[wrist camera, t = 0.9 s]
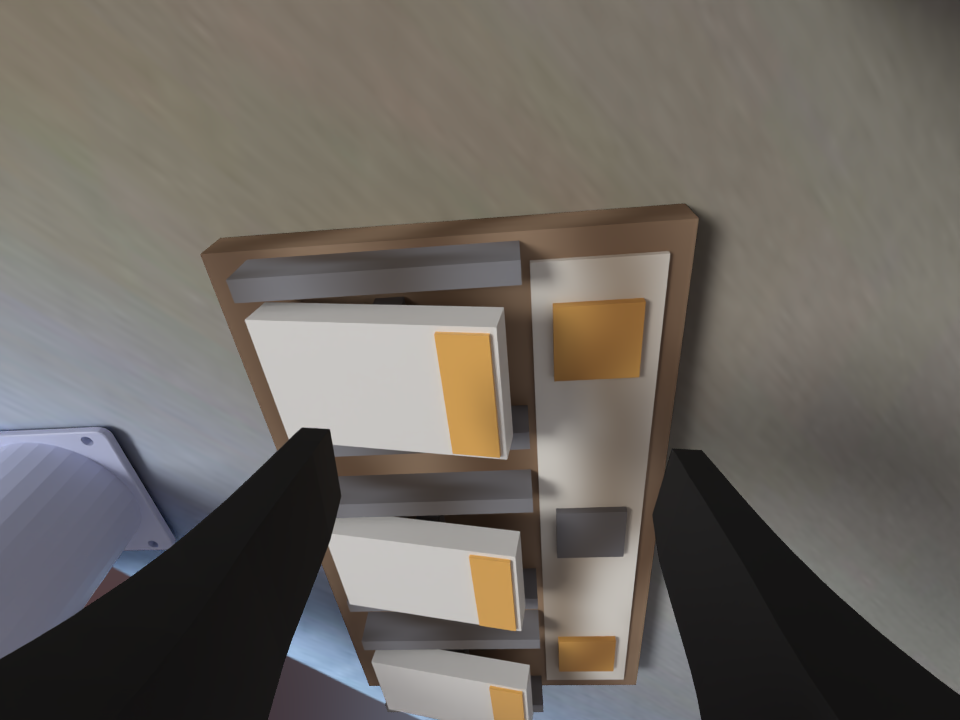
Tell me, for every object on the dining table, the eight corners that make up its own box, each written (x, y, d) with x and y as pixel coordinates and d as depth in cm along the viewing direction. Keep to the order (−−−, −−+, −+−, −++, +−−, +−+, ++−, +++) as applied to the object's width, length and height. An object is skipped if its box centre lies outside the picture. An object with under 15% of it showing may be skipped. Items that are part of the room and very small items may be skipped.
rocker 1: (305, 420, 20) (287, 443, 19) (265, 302, 18) (241, 322, 17) (513, 435, 19) (506, 462, 18) (503, 306, 16) (495, 330, 15)
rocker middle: (360, 581, 26) (348, 607, 25) (335, 510, 23) (321, 535, 22) (525, 605, 24) (520, 634, 23) (520, 531, 21) (514, 560, 20)
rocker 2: (396, 687, 31) (387, 712, 30) (379, 639, 29) (370, 664, 27) (533, 713, 29) (529, 740, 28) (529, 665, 27) (525, 693, 26)
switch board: (374, 660, 34) (363, 714, 32) (220, 238, 19) (175, 274, 16) (630, 658, 33) (641, 714, 30) (684, 203, 18) (715, 236, 15)
